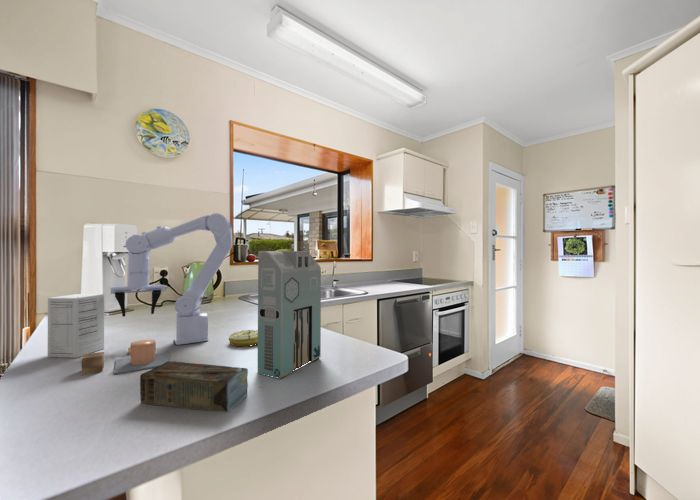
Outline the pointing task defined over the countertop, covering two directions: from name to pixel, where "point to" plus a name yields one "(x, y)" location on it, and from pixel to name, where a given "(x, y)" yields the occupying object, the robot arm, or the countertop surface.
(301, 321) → the device
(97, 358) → the walnut block
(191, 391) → the beverage carton
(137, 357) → the peach faceted cylinder
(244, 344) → the decorated donut
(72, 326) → the supplement box
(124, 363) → the slate mat
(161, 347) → the countertop surface
